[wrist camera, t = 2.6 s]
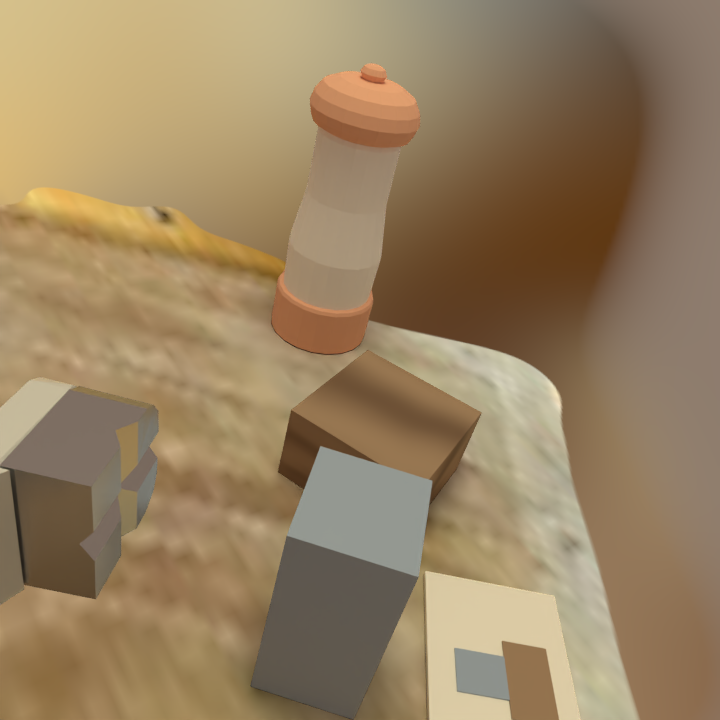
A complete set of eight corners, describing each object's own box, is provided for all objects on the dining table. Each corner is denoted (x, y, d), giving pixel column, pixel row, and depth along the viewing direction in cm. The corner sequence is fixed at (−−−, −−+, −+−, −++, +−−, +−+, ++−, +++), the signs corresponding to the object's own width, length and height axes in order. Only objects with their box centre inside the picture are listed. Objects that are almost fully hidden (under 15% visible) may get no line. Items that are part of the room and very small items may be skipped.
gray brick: (353, 719, 27) (418, 577, 21) (250, 686, 27) (286, 535, 21) (372, 624, 30) (432, 480, 24) (282, 595, 30) (320, 446, 25)
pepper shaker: (352, 303, 53) (414, 60, 42) (373, 356, 48) (450, 93, 37) (266, 297, 51) (307, 39, 40) (277, 352, 46) (328, 71, 35)
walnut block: (395, 551, 34) (421, 489, 31) (277, 474, 37) (291, 409, 34) (455, 471, 40) (481, 412, 37) (350, 409, 43) (367, 349, 40)
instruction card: (598, 819, 26) (602, 816, 25) (429, 792, 25) (432, 787, 25) (552, 599, 34) (555, 594, 33) (423, 574, 33) (425, 569, 33)
